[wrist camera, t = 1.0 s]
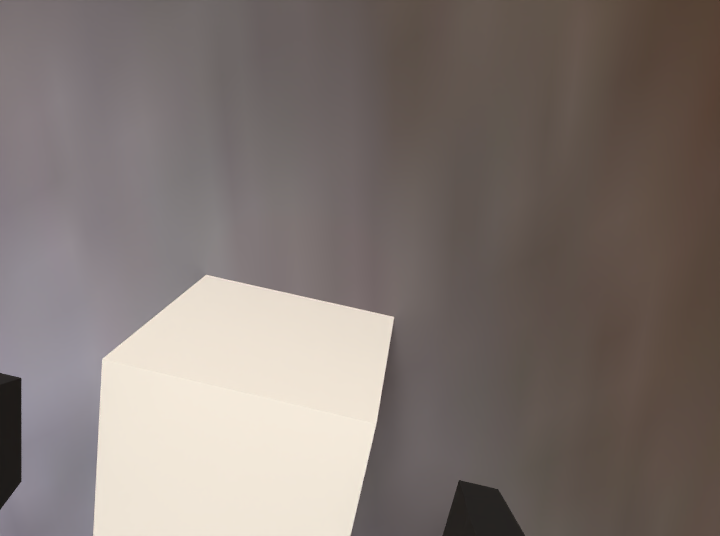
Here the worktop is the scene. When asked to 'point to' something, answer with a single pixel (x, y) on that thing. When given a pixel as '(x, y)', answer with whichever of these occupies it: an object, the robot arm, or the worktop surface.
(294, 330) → the cube
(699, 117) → the worktop surface
